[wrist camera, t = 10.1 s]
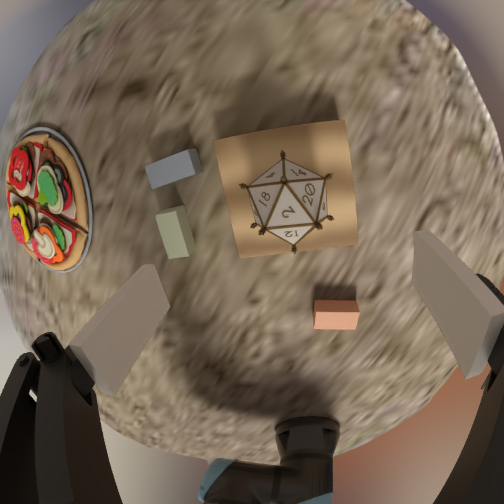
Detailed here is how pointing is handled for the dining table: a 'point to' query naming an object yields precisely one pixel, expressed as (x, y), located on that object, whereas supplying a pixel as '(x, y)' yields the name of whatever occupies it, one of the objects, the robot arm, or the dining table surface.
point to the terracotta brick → (335, 314)
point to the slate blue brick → (174, 168)
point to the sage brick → (176, 232)
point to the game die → (288, 201)
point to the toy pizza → (49, 200)
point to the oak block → (304, 154)
